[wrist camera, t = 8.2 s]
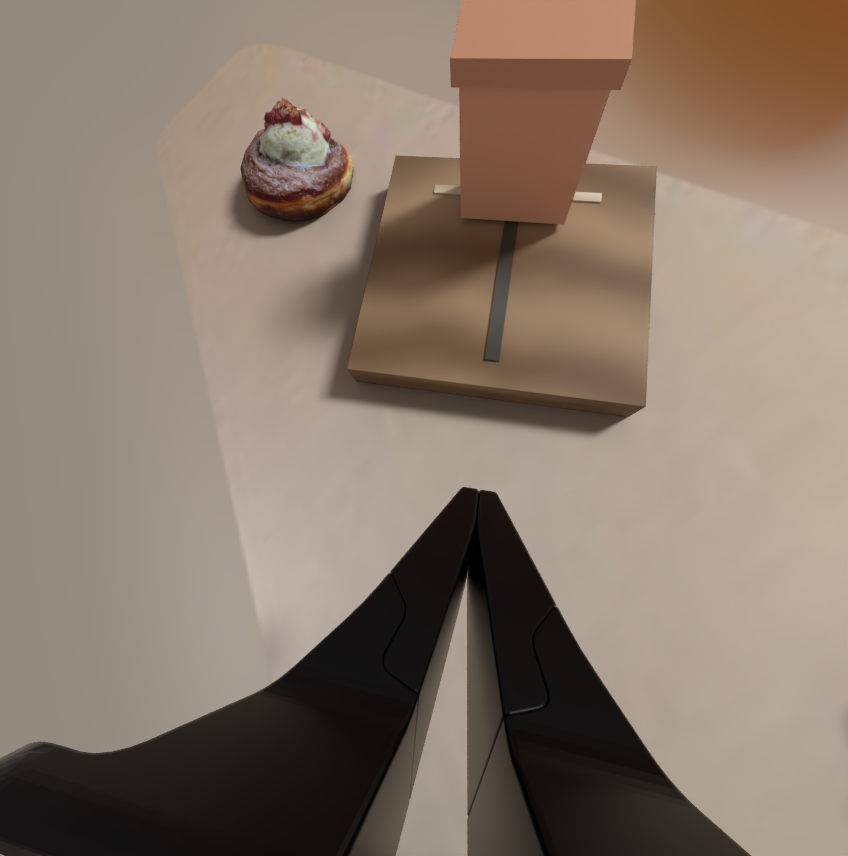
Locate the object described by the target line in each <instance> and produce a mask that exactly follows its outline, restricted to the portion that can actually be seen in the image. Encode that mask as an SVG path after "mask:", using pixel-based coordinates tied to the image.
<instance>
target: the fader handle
mask: <svg viewBox="0 0 848 856" xmlns="http://www.w3.org/2000/svg"><path fill="white" fill-rule="evenodd" d="M635 5H636V0H462V3H461V8H460V13H459V17H458V22H457V28H456V32H455V37H454V42H453V47H452V51H451V56H450V71H451V87H459V97H460V98H459V100H460V195H461V218H469V219H485V220H501V221H516V222H532V223H547V224H563V225H564V224H565V221H566V218H567V215H568V212H569V210H570V207H571V204H572V201H573V198H574V195H575V192H576V189H577V186H578V183H579V181H580V178H581V175H582V172H583V169H584V166H585V163H586V160H587V157H588V154H589V151H590V149H591V146H592V143H593V140H594V137H595V134H596V131H597V128H598V125H599V122H600V120H601V117H602V113H603V111H604V108H605V105H606V102H607V99H608V96H609V93H610V90H621V87H622V84H623V82H624V79H625V76H626V74H627V71H628V68H629V65H630V63H631V60H632V49H633V34H634V20H635Z"/></svg>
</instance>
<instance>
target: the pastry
mask: <svg viewBox="0 0 848 856" xmlns="http://www.w3.org/2000/svg"><path fill="white" fill-rule="evenodd" d="M264 119H265V123H264V124H265V129H263V130H260V131H258V133H257V134H256V136H255V137H254V139H253V141H252V142H251V144H250V145H249V147H248V148H247V150H246V151H245V154H244V158H243V161H242V165H241V173H242V180H243V186H244V188H245V191H246V193H247V196H248V198H249V201H250V202H251V203H252V204H253V205H254V206H255V207H256V208H257V209H258V210H259V211H261V212H262V213H264V214H266V215H270V216H273V217H277V218H280V219H283V220H287V221H294V220H306V219H311V218H317V217H320V216H323V215H324V214H325V213H327V212H328V211H329V210H331V209H332V208H333V207H335V206H336V205H337V204H339V203H340V202H341V201H343V200H344V198H345V197H346V195H347V193H348V192H349V190H350V189H351V182H352V176H353V160H352V158H351V157H350V155H349V154H348V152H347V151H346V150H345V148H344V147H343V146H342V145H341V144H339V143H338V142H336V141H335V140H333V139H332V138H331V135H330V131H329V130H328V129H327V128H326V127H325V125H324V124H323V123H322V122H320V121H318V120H316V119H315V118H313V117H312V115H311V116H310V115H309V114H308V112H307V111H306V110H305V109H297V108H296V107H294V106H293V105H292V104H291V103H290V102H288V101H287V100H285V99H284V98H282V100H281V102H280V101H278V102H277V103H276V105H275V106H274V108H273V109H272V111H270V112H266V114H265V118H264Z"/></svg>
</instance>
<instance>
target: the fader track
mask: <svg viewBox="0 0 848 856" xmlns="http://www.w3.org/2000/svg"><path fill="white" fill-rule="evenodd" d="M656 172H657V167H653V166H630V165H606V164H585V166H584V169H583V172H582V175H581V178H580V181H579V183H578V186H577V189H576V192H575V195H574V198H573V201H572V204H571V207H570V210H569V212H568V215H567V218H566V221H565V224H564V225H563V224H547V223H532V222H516V221H501V220H485V219H469V218H461V195H460V158H438V157H414V156H396V157H395V162H394V166H393V170H392V175H391V179H390V183H389V188H388V192H387V197H386V201H385V205H384V210H383V214H382V218H381V223H380V227H379V231H378V236H377V240H376V245H375V249H374V253H373V258H372V262H371V266H370V271H369V275H368V279H367V284H366V288H365V293H364V297H363V301H362V306H361V310H360V314H359V319H358V323H357V327H356V332H355V336H354V340H353V345H352V349H351V354H350V358H349V362H348V367H347V369H348V371H349V372H350V373H351V374H352V376H353V377H354V378H355V379H356V381H360V382H367V383H375V384H383V385H390V386H398V387H406V388H413V389H421V390H429V391H436V392H444V393H452V394H459V395H467V396H475V397H482V398H490V399H498V400H505V401H513V402H521V403H528V404H536V405H544V406H551V407H559V408H567V409H574V410H582V411H590V412H597V413H605V414H613V415H620V416H628V417H629V416H631V415H632V414H634V413H636V412H637V411H639V410H641V409H642V408H644V407H646V388H647V366H648V344H649V323H650V301H651V280H652V258H653V237H654V215H655V193H656Z"/></svg>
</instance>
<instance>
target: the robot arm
mask: <svg viewBox="0 0 848 856" xmlns="http://www.w3.org/2000/svg"><path fill="white" fill-rule="evenodd" d="M467 573H468V577H467ZM466 579H467V793H468V816H469V817H468V820H467V823H468V856H751V855H750V854H749V853H747V852H746V851H745V850H744V849H743V848H742V847H741V846H739V845H738V844H737V843H736V842H735V841H734V840H733V839H731V838H730V837H729V836H728V835H727V834H726V833H725V832H723V831H722V830H721V829H720V828H719V827H718V826H717V825H715V824H714V823H713V822H712V821H711V820H710V819H709V818H707V817H706V816H705V815H704V814H703V813H702V812H701V811H699V810H698V809H697V808H696V807H695V806H694V805H693V804H692V803H691V802H690V801H689V800H688V799H687V798H686V797H685V796H684V795H683V794H682V793H681V792H680V791H679V790H678V788H677V787H676V786H675V785H674V784H673V783H672V781H671V780H670V779H669V778H668V777H667V775H666V774H665V773H664V772H663V770H662V769H661V768H660V766H659V765H658V764H657V762H656V761H655V760H654V758H653V757H652V755H651V754H650V752H649V751H648V750H647V748H646V747H645V745H644V744H643V742H642V741H641V739H640V738H639V736H638V735H637V733H636V732H635V730H634V729H633V727H632V726H631V724H630V723H629V721H628V720H627V718H626V717H625V715H624V714H623V712H622V711H621V709H620V708H619V706H618V705H617V703H616V702H615V700H614V699H613V697H612V696H611V694H610V693H609V691H608V690H607V688H606V687H605V685H604V684H603V682H602V681H601V679H600V678H599V676H598V675H597V673H596V672H595V670H594V669H593V667H592V666H591V664H590V662H589V661H588V659H587V658H586V656H585V655H584V653H583V652H582V650H581V648H580V647H579V645H578V643H577V641H576V640H575V638H574V636H573V634H572V633H571V631H570V629H569V627H568V626H567V624H566V622H565V620H564V618H563V616H562V614H561V612H560V611H559V609H558V608H557V607H556V603H555V602H554V600H553V598H552V596H551V594H550V592H549V590H548V588H547V587H546V585H545V583H544V581H543V579H542V577H541V575H540V573H539V572H538V570H537V568H536V566H535V564H534V562H533V560H532V558H531V557H530V555H529V553H528V551H527V549H526V547H525V545H524V544H523V542H522V540H521V538H520V536H519V534H518V532H517V530H516V529H515V527H514V525H513V523H512V521H511V519H510V517H509V515H508V514H507V512H506V510H505V508H504V506H503V504H502V502H501V500H500V499H499V497H498V495H497V493H495V492H492V491H486V490H480V491H478V490H477V489H473V488H467V487H462V488H461V489H460V490H459V491H458V493H457V494H456V495H455V496H454V497H453V498H452V500H451V501H450V502H449V503H448V504H447V506H446V507H445V508H444V509H443V510H442V511H441V513H440V514H439V515H438V516H437V517H436V518H435V520H434V521H433V522H432V523H431V524H430V526H429V527H428V528H427V529H426V530H425V531H424V533H423V534H422V535H421V536H420V537H419V538H418V540H417V541H416V542H415V543H414V544H413V546H412V547H411V548H410V549H409V550H408V551H407V553H406V554H405V555H404V556H403V557H402V558H401V560H400V561H399V562H398V563H397V564H396V565H395V567H394V568H393V569H392V570H391V572H390V573H389V574H388V575H387V576H386V577H385V578H384V579H383V581H382V582H381V583H380V584H379V585H378V586H377V587H376V589H375V590H374V591H373V592H372V593H371V594H370V595H369V596H368V597H367V598H366V599H365V601H364V602H363V603H362V604H361V605H360V606H359V607H358V608H357V609H355V610H354V611H353V612H352V613H351V614H350V615H349V616H348V617H347V618H346V619H345V620H344V621H343V622H342V623H341V624H340V625H339V626H338V627H336V628H335V629H334V630H333V631H332V632H331V633H330V634H329V635H328V636H327V637H325V638H324V639H323V640H322V641H321V642H320V643H319V644H318V645H317V646H316V647H315V648H313V649H312V650H311V651H310V652H309V653H308V654H307V655H306V656H305V657H304V658H303V659H301V660H300V661H299V662H298V663H297V664H296V665H295V666H294V667H293V668H291V669H290V670H289V671H288V672H287V673H286V674H284V675H283V676H282V677H280V678H279V679H278V680H276V681H275V682H273V683H272V684H270V685H269V686H267V687H265V688H264V689H262V690H260V691H258V692H256V693H254V694H252V695H250V696H248V697H245V698H243V699H241V700H238V701H236V702H234V703H232V704H229V705H227V706H225V707H223V708H221V709H218V710H216V711H214V712H211V713H209V714H207V715H205V716H202V717H200V718H198V719H196V720H193V721H191V722H189V723H187V724H184V725H182V726H180V727H177V728H175V729H173V730H171V731H169V732H166V733H164V734H162V735H160V736H157V737H155V738H153V739H151V740H148V741H146V742H143V743H140V744H138V745H135V746H132V747H129V748H125V749H121V750H117V751H113V752H105V753H87V752H80V751H77V750H73V749H70V748H67V747H64V746H60V745H56V744H53V743H48V742H33V743H30V744H27V745H25V746H23V747H22V748H19V749H17V750H15V751H14V752H12V753H10V754H8V755H6V756H4V757H2V758H0V854H2V855H5V856H396V852H397V848H398V844H399V840H400V836H401V832H402V828H403V824H404V821H405V817H406V813H407V809H408V805H409V799H410V797H411V793H412V789H413V786H414V782H415V778H416V774H417V770H418V766H419V762H420V758H421V754H422V751H423V747H424V743H425V739H426V735H427V731H428V727H429V723H430V720H431V716H432V712H433V708H434V704H435V700H436V696H437V692H438V688H439V685H440V681H441V677H442V673H443V669H444V665H445V661H446V657H447V654H448V650H449V646H450V642H451V638H452V634H453V630H454V626H455V623H456V619H457V615H458V611H459V607H460V603H461V599H462V595H463V591H464V587H465V583H466Z"/></svg>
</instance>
